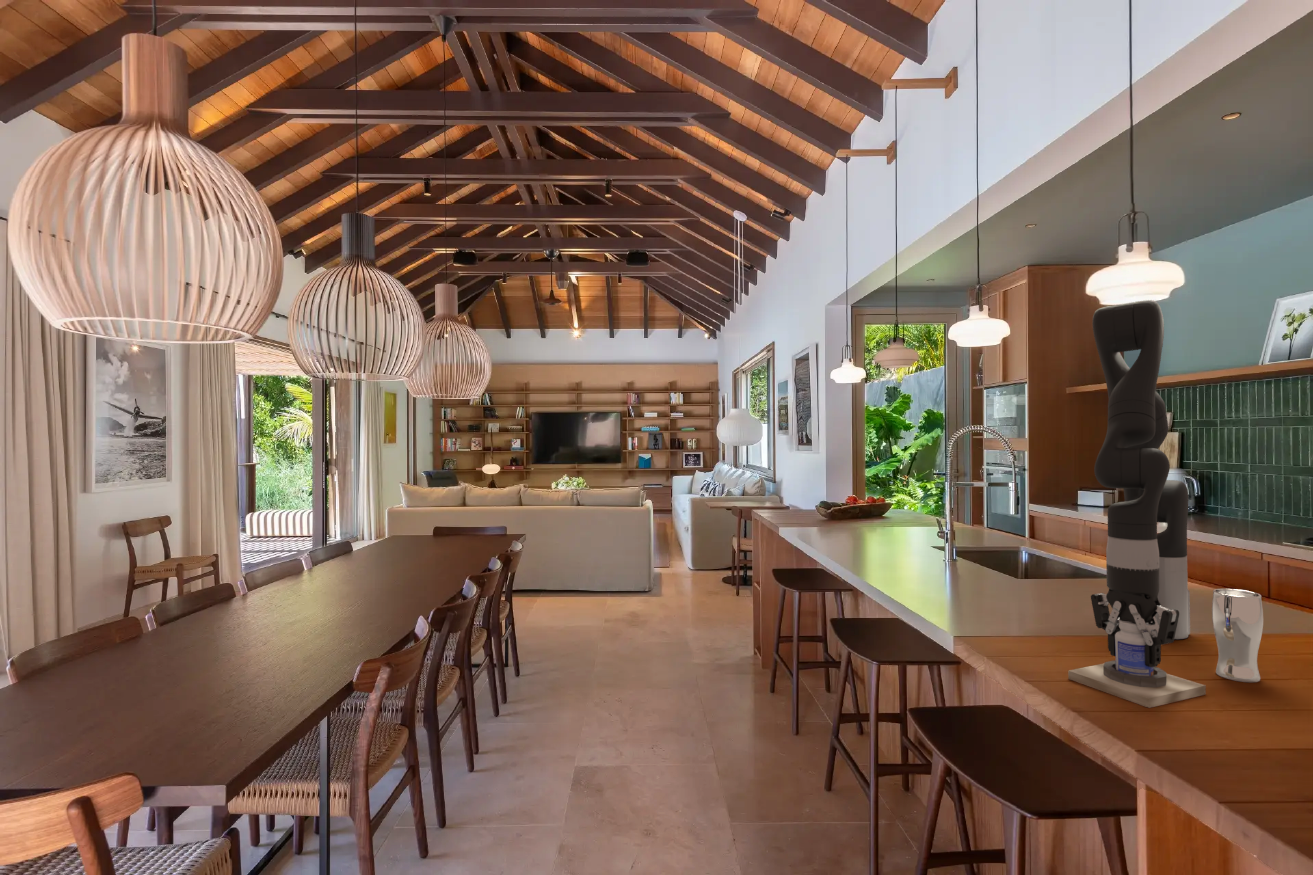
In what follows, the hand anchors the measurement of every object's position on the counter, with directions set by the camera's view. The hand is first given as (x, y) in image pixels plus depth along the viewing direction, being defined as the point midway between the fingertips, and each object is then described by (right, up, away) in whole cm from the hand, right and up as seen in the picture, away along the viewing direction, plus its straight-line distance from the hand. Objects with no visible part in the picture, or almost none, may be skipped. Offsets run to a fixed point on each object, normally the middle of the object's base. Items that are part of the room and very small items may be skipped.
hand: (1133, 660), depth 118 cm
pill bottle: (0, -3, 0) cm, 3 cm away
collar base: (0, -4, 0) cm, 4 cm away
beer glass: (+21, -4, +4) cm, 22 cm away
